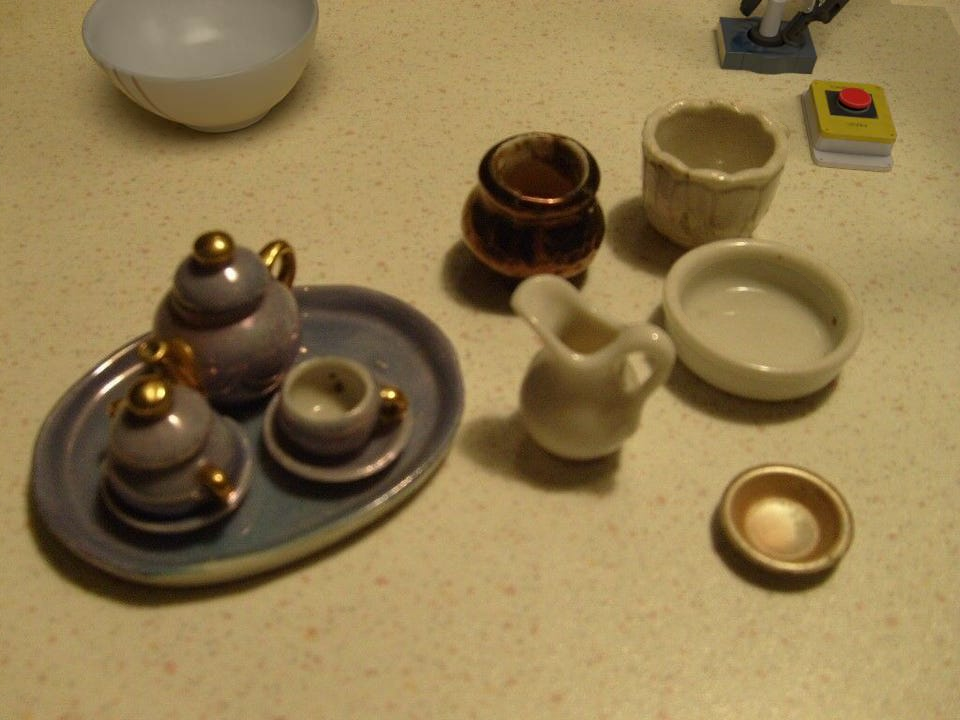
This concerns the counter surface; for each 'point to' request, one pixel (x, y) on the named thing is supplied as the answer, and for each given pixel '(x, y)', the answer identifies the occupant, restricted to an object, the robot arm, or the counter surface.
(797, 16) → the robot arm
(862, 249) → the counter surface
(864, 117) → the emergency button
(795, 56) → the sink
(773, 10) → the stopper
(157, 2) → the decorative bowl
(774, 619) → the counter surface
